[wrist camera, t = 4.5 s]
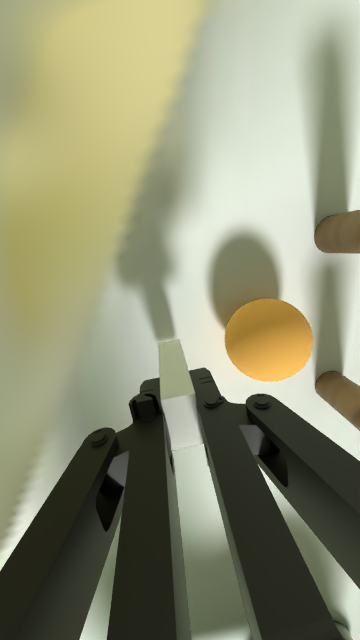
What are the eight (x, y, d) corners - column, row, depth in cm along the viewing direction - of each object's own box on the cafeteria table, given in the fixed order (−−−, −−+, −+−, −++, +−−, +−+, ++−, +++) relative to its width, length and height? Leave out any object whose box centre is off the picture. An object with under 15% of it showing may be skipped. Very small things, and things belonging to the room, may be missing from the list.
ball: (234, 404, 15) (232, 361, 20) (331, 394, 14) (302, 349, 19) (215, 324, 13) (217, 299, 19) (322, 303, 12) (293, 282, 17)
